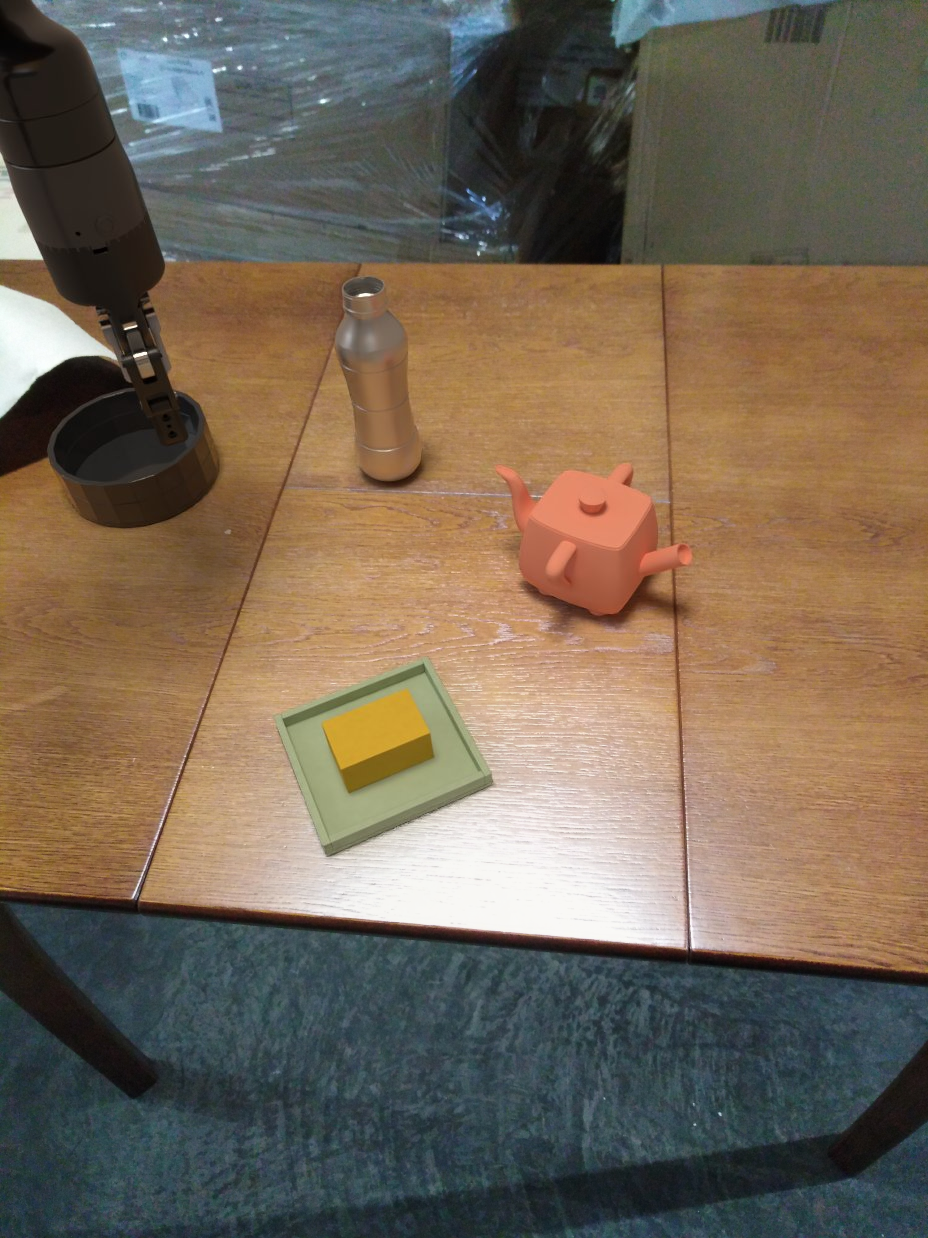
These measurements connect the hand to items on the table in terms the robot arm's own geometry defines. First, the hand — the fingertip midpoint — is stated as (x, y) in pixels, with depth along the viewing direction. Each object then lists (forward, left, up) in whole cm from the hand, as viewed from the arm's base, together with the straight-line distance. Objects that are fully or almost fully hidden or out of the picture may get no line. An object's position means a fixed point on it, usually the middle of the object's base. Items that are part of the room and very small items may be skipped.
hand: (168, 420), depth 72 cm
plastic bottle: (+19, +4, -16) cm, 25 cm away
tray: (+6, -27, -16) cm, 32 cm away
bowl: (-4, +15, -16) cm, 22 cm away
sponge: (+6, -27, -15) cm, 32 cm away
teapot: (+29, -18, -16) cm, 38 cm away
